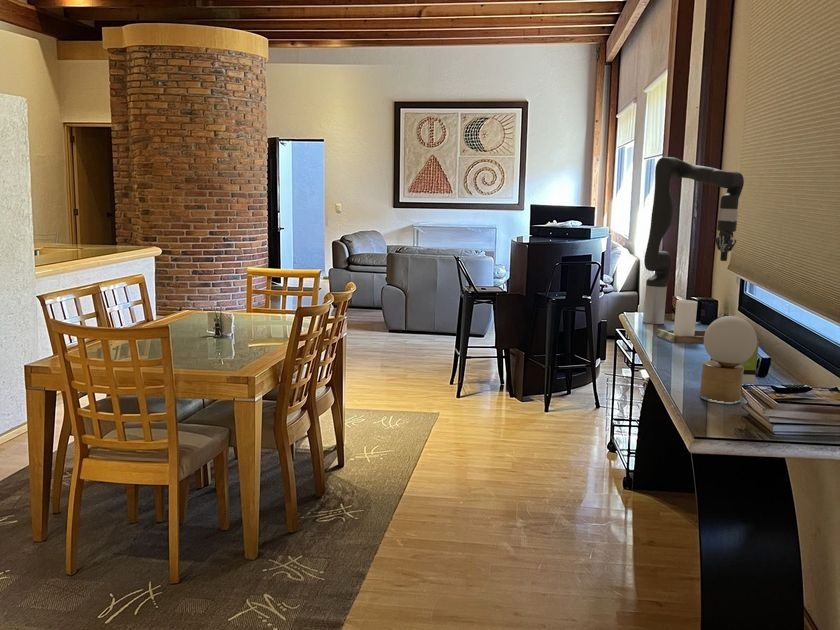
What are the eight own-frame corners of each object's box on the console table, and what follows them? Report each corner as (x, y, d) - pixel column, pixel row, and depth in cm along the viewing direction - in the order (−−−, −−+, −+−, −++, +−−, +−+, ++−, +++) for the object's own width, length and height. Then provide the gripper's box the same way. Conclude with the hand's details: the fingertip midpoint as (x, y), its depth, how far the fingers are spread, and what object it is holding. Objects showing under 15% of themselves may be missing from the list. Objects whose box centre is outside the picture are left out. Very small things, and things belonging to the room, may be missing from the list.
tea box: (707, 374, 265) (711, 330, 262) (737, 375, 264) (742, 331, 262) (723, 385, 250) (727, 339, 247) (755, 386, 249) (760, 340, 247)
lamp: (759, 409, 222) (769, 321, 219) (710, 408, 221) (719, 319, 217) (734, 394, 237) (742, 312, 233) (688, 394, 236) (696, 311, 232)
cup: (690, 338, 331) (694, 300, 329) (696, 341, 323) (700, 303, 321) (670, 337, 332) (674, 299, 329) (675, 340, 324) (679, 302, 321)
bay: (656, 335, 334) (657, 328, 333) (708, 336, 338) (709, 329, 338) (673, 342, 319) (674, 335, 319) (728, 342, 324) (729, 335, 323)
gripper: (710, 218, 339) (707, 259, 342) (728, 220, 327) (724, 262, 329) (726, 219, 341) (722, 259, 344) (744, 220, 328) (740, 262, 331)
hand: (723, 260), depth 336 cm, fingers closed
